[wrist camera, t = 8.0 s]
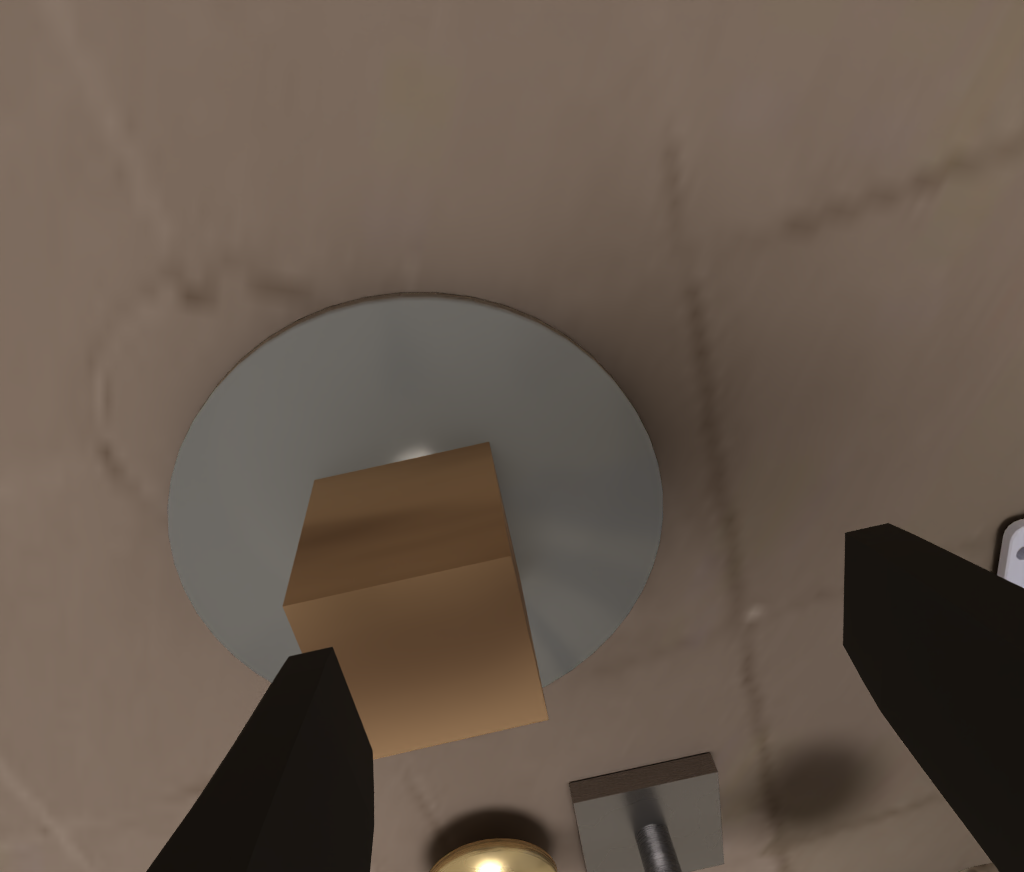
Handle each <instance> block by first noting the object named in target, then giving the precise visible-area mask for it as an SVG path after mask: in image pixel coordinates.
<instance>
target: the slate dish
mask: <svg viewBox="0 0 1024 872" xmlns="http://www.w3.org/2000/svg"><path fill="white" fill-rule="evenodd" d="M485 442H489V443H490V448H491V452H492V457H493V461H494V465H495V470H496V474H497V479H498V483H499V487H500V492H501V496H502V501H503V505H504V509H505V514H506V518H507V523H508V527H509V532H510V536H511V540H512V545H513V549H514V554H515V558H516V562H517V567H518V571H519V576H520V580H521V585H522V590H523V595H524V600H525V605H526V610H527V615H528V620H529V625H530V630H531V635H532V640H533V645H534V650H535V655H536V660H537V664H538V669H539V674H540V679H541V684H542V688H543V687H545V686H547V685H549V684H550V683H552V682H554V681H555V680H557V679H558V678H560V677H562V676H563V675H565V674H566V673H568V672H570V671H571V670H573V669H574V668H575V667H576V666H578V665H579V664H580V663H582V662H583V661H584V660H585V659H587V658H588V657H589V656H590V655H592V654H593V653H594V652H595V651H596V650H597V649H598V648H599V647H600V646H601V645H602V644H603V643H604V642H605V641H606V640H607V639H608V638H609V637H610V636H611V635H612V634H613V633H614V632H615V630H616V629H617V628H618V626H619V625H620V624H621V623H622V621H623V620H624V619H625V618H626V616H627V615H628V614H629V612H630V611H631V609H632V607H633V606H634V604H635V602H636V601H637V599H638V597H639V596H640V594H641V593H642V591H643V588H644V586H645V584H646V581H647V579H648V577H649V575H650V572H651V570H652V568H653V564H654V561H655V557H656V554H657V550H658V547H659V543H660V536H661V529H662V521H663V489H662V483H661V478H660V472H659V466H658V462H657V459H656V456H655V453H654V450H653V447H652V444H651V441H650V438H649V436H648V434H647V432H646V430H645V428H644V426H643V424H642V422H641V420H640V418H639V416H638V414H637V412H636V411H635V409H634V407H633V406H632V404H631V403H630V401H629V400H628V398H627V397H626V395H625V394H624V393H623V391H622V390H621V388H620V387H619V386H618V384H617V383H616V382H615V380H614V379H613V377H612V376H611V375H610V374H609V373H608V372H607V371H606V370H605V369H604V368H603V367H602V366H601V365H600V364H599V363H598V361H597V360H596V359H595V358H594V357H593V356H592V355H591V354H590V353H588V352H587V351H586V350H584V349H583V348H582V347H581V346H579V345H578V344H577V343H575V342H574V341H573V340H572V339H570V338H569V337H568V336H566V335H565V334H563V333H562V332H560V331H558V330H556V329H555V328H553V327H551V326H549V325H548V324H546V323H544V322H542V321H540V320H539V319H537V318H535V317H532V316H530V315H527V314H525V313H522V312H520V311H517V310H515V309H512V308H510V307H507V306H505V305H501V304H497V303H493V302H489V301H486V300H482V299H478V298H474V297H468V296H460V295H452V294H444V293H394V294H387V295H379V296H372V297H365V298H361V299H357V300H353V301H350V302H346V303H342V304H338V305H335V306H331V307H328V308H326V309H324V310H321V311H319V312H316V313H314V314H311V315H309V316H307V317H304V318H302V319H299V320H297V321H296V322H294V323H292V324H290V325H289V326H287V327H285V328H284V329H282V330H280V331H278V332H277V333H275V334H273V335H272V336H270V337H268V338H267V339H266V340H264V341H263V342H262V343H261V344H259V345H258V346H257V347H255V348H254V349H253V350H252V351H250V352H249V353H248V354H247V355H245V356H244V357H243V358H242V359H241V360H240V361H239V362H238V363H237V364H236V365H235V366H234V367H233V368H232V369H231V370H230V371H229V372H228V373H227V375H226V376H225V377H224V378H223V379H222V380H221V381H220V382H219V383H218V385H217V386H216V388H215V389H214V391H213V392H212V394H211V395H210V396H209V398H208V399H207V401H206V402H205V404H204V405H203V407H202V408H201V410H200V411H199V413H198V414H197V416H196V417H195V419H194V421H193V423H192V425H191V427H190V429H189V431H188V433H187V435H186V437H185V439H184V441H183V443H182V445H181V447H180V450H179V453H178V456H177V460H176V463H175V467H174V470H173V473H172V477H171V483H170V491H169V499H168V532H169V540H170V545H171V550H172V555H173V560H174V564H175V567H176V569H177V572H178V575H179V577H180V580H181V583H182V585H183V588H184V590H185V592H186V594H187V596H188V598H189V599H190V601H191V603H192V605H193V607H194V608H195V610H196V612H197V614H198V615H199V617H200V618H201V619H202V620H203V622H204V623H205V624H206V626H207V627H208V628H209V630H210V631H211V632H212V634H213V635H214V636H215V637H216V638H217V639H218V640H219V641H220V642H221V643H222V644H223V645H224V646H225V647H226V648H227V649H228V650H229V651H230V652H231V653H232V654H233V656H235V657H236V658H237V659H238V660H240V661H241V662H242V663H244V664H245V665H246V666H247V667H249V668H250V669H251V670H253V671H254V672H255V673H256V674H258V675H260V676H261V677H263V678H265V679H266V680H268V681H270V682H271V683H272V682H273V680H274V678H275V677H276V675H277V674H278V672H279V671H280V669H281V667H282V666H283V664H284V663H285V661H286V660H287V658H288V657H289V656H293V655H297V654H302V652H301V650H300V647H299V645H298V643H297V640H296V638H295V635H294V633H293V631H292V628H291V626H290V623H289V621H288V618H287V616H286V614H285V611H284V609H283V603H284V599H285V595H286V591H287V587H288V583H289V579H290V575H291V571H292V567H293V563H294V559H295V555H296V551H297V547H298V543H299V539H300V535H301V531H302V527H303V524H304V520H305V516H306V512H307V508H308V504H309V500H310V496H311V492H312V488H313V484H314V480H317V479H322V478H326V477H331V476H335V475H340V474H344V473H349V472H353V471H358V470H362V469H367V468H372V467H376V466H381V465H385V464H390V463H394V462H399V461H403V460H408V459H412V458H417V457H422V456H426V455H431V454H435V453H440V452H444V451H449V450H453V449H458V448H462V447H467V446H472V445H476V444H481V443H485Z"/></svg>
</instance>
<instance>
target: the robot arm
mask: <svg viewBox="0 0 1024 872" xmlns="http://www.w3.org/2000/svg"><path fill="white" fill-rule="evenodd" d="M1021 547H1022V548H1021ZM1020 548H1021V549H1020ZM1019 549H1020V550H1019ZM843 646H844V647H845V649H846V651H847V653H848V655H849V656H850V658H851V660H852V662H853V664H854V666H855V667H856V669H857V671H858V673H859V675H860V677H861V678H862V680H863V682H864V684H865V685H866V687H867V689H868V690H869V692H870V694H871V696H872V697H873V699H874V701H875V702H876V704H877V706H878V708H879V709H880V711H881V712H882V714H883V715H884V716H885V718H886V719H887V721H888V722H889V723H890V725H891V726H892V728H893V729H894V730H895V732H896V733H897V734H898V736H899V737H900V739H901V740H902V741H903V743H904V744H905V745H906V747H907V748H908V749H909V751H910V752H911V754H912V755H913V756H914V758H915V759H916V760H917V762H918V763H919V764H920V766H921V767H922V768H923V770H924V771H925V772H926V774H927V775H928V776H929V778H930V779H931V780H932V782H933V783H934V784H935V786H936V787H937V789H938V790H939V791H940V793H941V794H942V795H943V797H944V798H945V799H946V801H947V802H948V803H949V805H950V806H951V807H952V809H953V810H954V811H955V813H956V814H957V815H958V817H959V818H960V819H961V821H962V822H963V823H964V825H965V826H966V827H967V829H968V830H969V831H970V833H971V834H972V835H973V837H974V838H975V839H976V841H977V842H978V843H979V845H980V846H981V848H982V849H983V850H984V852H985V853H986V854H987V856H988V857H989V858H990V860H991V861H992V862H993V864H994V865H995V867H996V868H997V869H998V871H999V872H1024V519H1021V520H1018V521H1015V522H1013V523H1012V524H1010V525H1009V526H1008V527H1007V529H1006V530H1005V532H1004V535H1003V540H1002V546H1001V553H1000V559H999V566H998V572H997V575H996V574H994V573H991V572H989V571H987V570H985V569H983V568H981V567H979V566H977V565H975V564H973V563H971V562H969V561H967V560H965V559H963V558H961V557H959V556H957V555H955V554H953V553H951V552H949V551H947V550H945V549H943V548H940V547H938V546H936V545H934V544H932V543H930V542H928V541H926V540H924V539H922V538H920V537H918V536H916V535H914V534H911V533H909V532H907V531H905V530H903V529H900V528H898V527H896V526H894V525H891V524H889V523H887V524H883V525H878V526H874V527H869V528H865V529H860V530H856V531H851V532H847V533H845V575H844V627H843ZM373 832H374V778H373V750H372V747H371V745H370V742H369V739H368V737H367V734H366V732H365V729H364V727H363V724H362V721H361V719H360V716H359V714H358V711H357V708H356V706H355V703H354V701H353V698H352V695H351V693H350V690H349V688H348V685H347V683H346V680H345V677H344V675H343V672H342V670H341V667H340V664H339V662H338V659H337V657H336V654H335V651H334V649H333V647H329V648H324V649H320V650H315V651H311V652H306V653H302V654H297V655H293V656H289V657H288V658H287V660H286V661H285V663H284V664H283V666H282V667H281V669H280V671H279V672H278V674H277V675H276V677H275V678H274V680H273V682H272V683H271V685H270V686H269V688H268V690H267V691H266V693H265V694H264V696H263V698H262V699H261V701H260V703H259V704H258V706H257V707H256V709H255V711H254V712H253V714H252V716H251V717H250V719H249V720H248V722H247V724H246V725H245V727H244V728H243V730H242V732H241V733H240V735H239V736H238V738H237V740H236V741H235V743H234V744H233V746H232V747H231V749H230V751H229V752H228V754H227V755H226V757H225V758H224V760H223V761H222V763H221V764H220V766H219V767H218V769H217V770H216V772H215V774H214V775H213V777H212V778H211V780H210V781H209V783H208V784H207V786H206V787H205V789H204V790H203V792H202V793H201V795H200V796H199V798H198V799H197V801H196V802H195V804H194V805H193V807H192V808H191V810H190V811H189V813H188V814H187V815H186V817H185V818H184V820H183V821H182V822H181V824H180V825H179V827H178V828H177V829H176V831H175V832H174V834H173V835H172V836H171V838H170V839H169V841H168V842H167V843H166V845H165V846H164V848H163V849H162V850H161V852H160V853H159V855H158V856H157V857H156V859H155V860H154V862H153V863H152V864H151V866H150V867H149V869H148V870H147V871H146V872H370V864H371V854H372V843H373Z"/></svg>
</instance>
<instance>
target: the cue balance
mask: <svg viewBox="0 0 1024 872" xmlns="http://www.w3.org/2000/svg"><path fill="white" fill-rule="evenodd" d="M569 785H570V790H571V795H572V800H573V805H574V810H575V816H576V821H577V826H578V831H579V836H580V841H581V846H582V851H583V856H584V861H585V866H586V871H587V872H691V871H695V870H700V869H704V868H709V867H713V866H718V865H722V864H724V856H723V841H722V826H721V811H720V795H719V780H718V771H717V769H716V766H715V764H714V762H713V759H712V757H711V755H710V753H706V754H702V755H697V756H693V757H688V758H683V759H679V760H674V761H670V762H665V763H660V764H656V765H651V766H647V767H642V768H637V769H633V770H628V771H624V772H619V773H614V774H610V775H605V776H600V777H596V778H591V779H587V780H582V781H577V782H573V783H569ZM430 872H557V867H556V864H555V862H554V860H553V859H552V857H551V856H550V855H549V854H548V853H547V852H546V851H544V850H543V849H542V848H540V847H538V846H536V845H534V844H532V843H529V842H526V841H522V840H517V839H509V838H494V839H485V840H480V841H476V842H472V843H469V844H466V845H463V846H461V847H459V848H457V849H454V850H453V851H451V852H449V853H448V854H446V855H445V856H444V857H442V858H441V859H440V860H439V861H438V862H437V863H436V864H435V865H434V866H433V867H432V869H431V870H430Z"/></svg>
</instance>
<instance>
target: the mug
mask: <svg viewBox="0 0 1024 872" xmlns="http://www.w3.org/2000/svg"><path fill="white" fill-rule="evenodd" d="M959 872H999V871H998V869H997V868H996V867H995V865H994V864H993V863H990V864H984V865H979V866H974V867H971V868H967V869H964V870H961V871H959Z"/></svg>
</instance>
